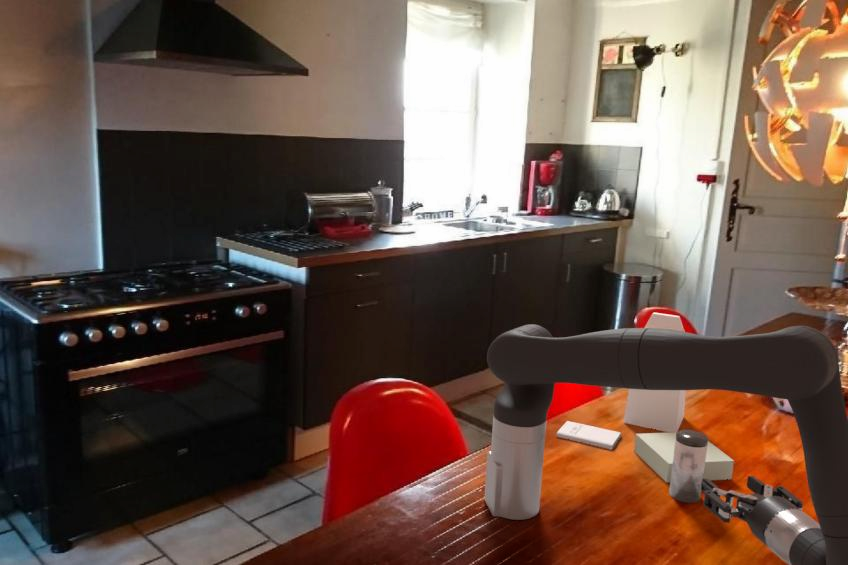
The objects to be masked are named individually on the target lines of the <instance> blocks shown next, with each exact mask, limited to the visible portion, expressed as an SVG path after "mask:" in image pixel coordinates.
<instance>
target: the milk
mask: <svg viewBox="0 0 848 565" xmlns="http://www.w3.org/2000/svg"><path fill="white" fill-rule="evenodd" d="M644 328H658V329H669V330H676V331H683V332H686V331H685V329H684V326H683V322H682V319H681V317H680V315H675V314H674V315H673V314H667V313H661V312H660V313H659V312H653V313H652V314H651V315H650V317H649V319H648V321H647V322H646V324H645V326H644ZM686 391H687V390H643V389H628V392H627V397H626V404H625V410H624V416H623V424H627V425H632V426H633V425H634V426H638V427H643V428H647V429H651V428H652V429H653V430H655V429H656V431H660V432H663V433H671V432H677V431H679V430H680V427H681V424H682V423H683V419H684V418H685V407H686V405H685V404H686V393H687V392H686ZM652 429H651V430H652Z"/></svg>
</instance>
